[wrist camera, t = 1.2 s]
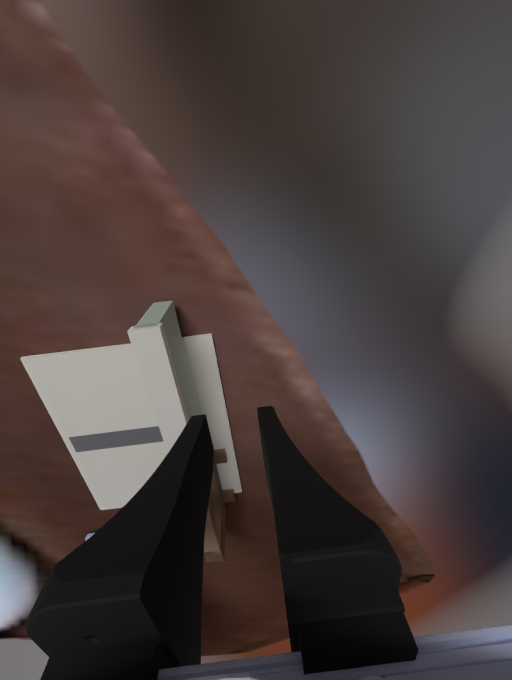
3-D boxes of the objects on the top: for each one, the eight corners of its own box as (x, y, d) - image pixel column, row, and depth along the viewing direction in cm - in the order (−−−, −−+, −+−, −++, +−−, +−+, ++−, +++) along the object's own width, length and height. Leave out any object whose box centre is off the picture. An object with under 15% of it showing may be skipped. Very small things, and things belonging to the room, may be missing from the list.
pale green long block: (209, 438, 23) (203, 485, 19) (188, 440, 23) (179, 488, 19) (176, 300, 18) (159, 327, 14) (150, 303, 18) (127, 331, 14)
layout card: (242, 490, 27) (242, 492, 27) (101, 508, 27) (100, 510, 27) (211, 333, 20) (211, 334, 20) (21, 356, 20) (19, 358, 20)
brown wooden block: (237, 507, 28) (237, 558, 24) (199, 512, 28) (193, 564, 24) (222, 436, 24) (219, 484, 20) (178, 442, 24) (166, 490, 20)
